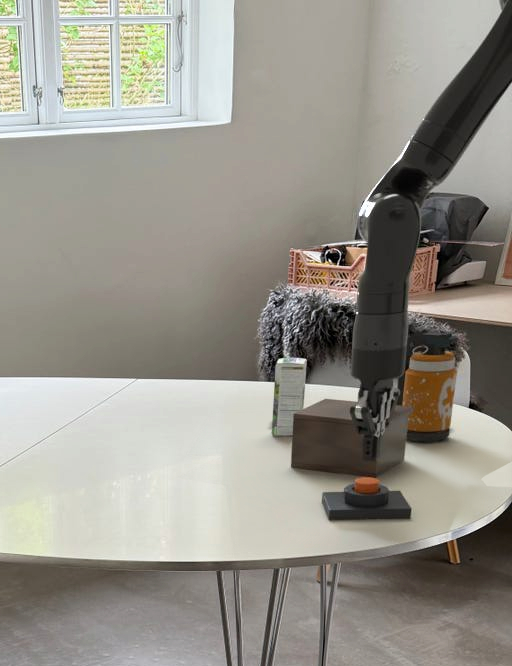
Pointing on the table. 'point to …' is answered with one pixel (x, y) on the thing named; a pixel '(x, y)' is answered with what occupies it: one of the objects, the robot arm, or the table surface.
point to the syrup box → (288, 394)
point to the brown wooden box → (344, 447)
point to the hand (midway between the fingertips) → (370, 459)
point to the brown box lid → (342, 411)
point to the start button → (366, 485)
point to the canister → (428, 385)
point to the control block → (365, 504)
